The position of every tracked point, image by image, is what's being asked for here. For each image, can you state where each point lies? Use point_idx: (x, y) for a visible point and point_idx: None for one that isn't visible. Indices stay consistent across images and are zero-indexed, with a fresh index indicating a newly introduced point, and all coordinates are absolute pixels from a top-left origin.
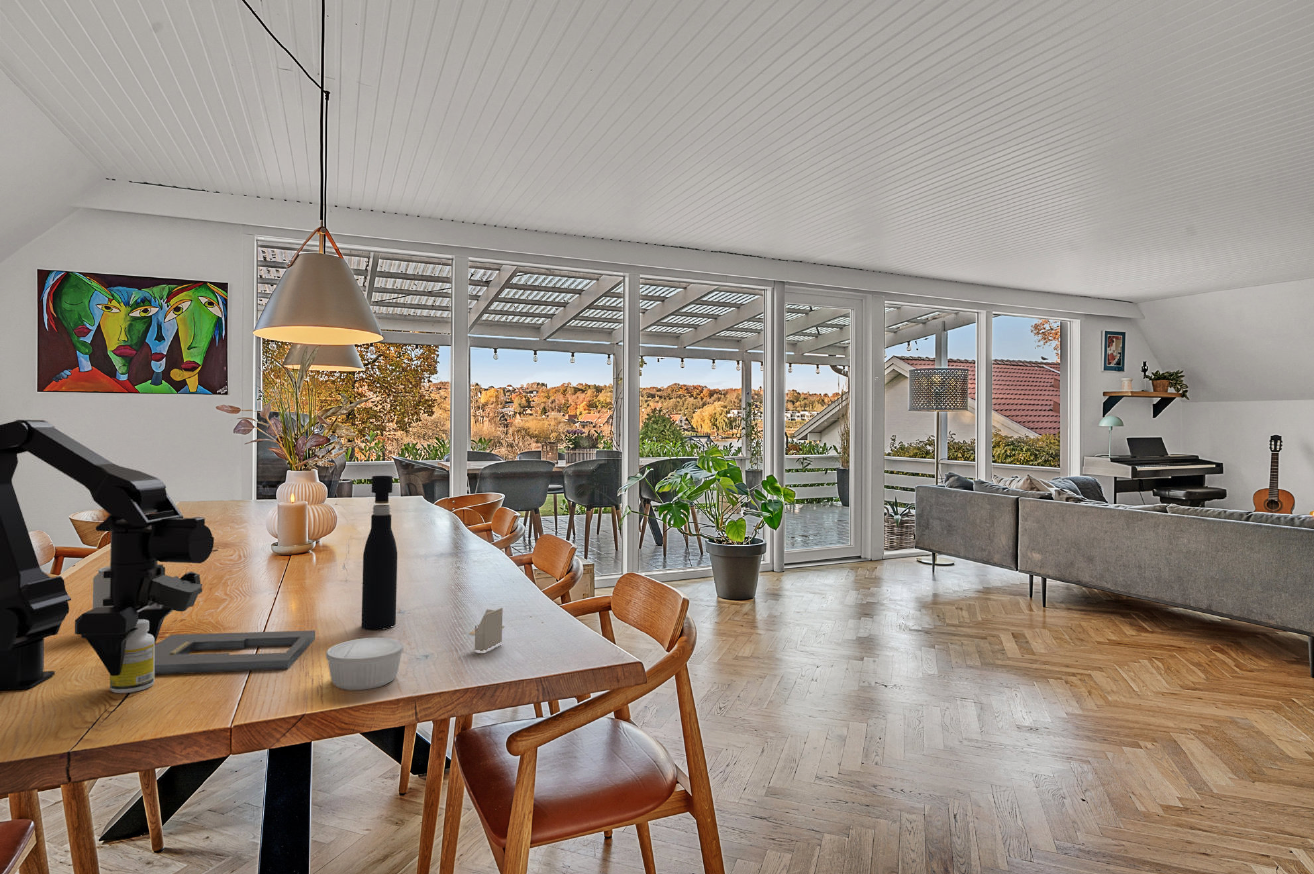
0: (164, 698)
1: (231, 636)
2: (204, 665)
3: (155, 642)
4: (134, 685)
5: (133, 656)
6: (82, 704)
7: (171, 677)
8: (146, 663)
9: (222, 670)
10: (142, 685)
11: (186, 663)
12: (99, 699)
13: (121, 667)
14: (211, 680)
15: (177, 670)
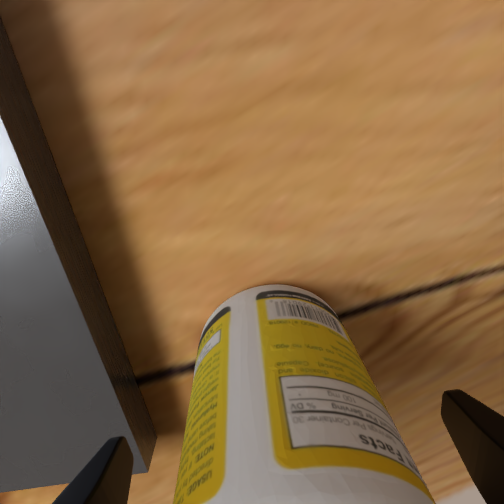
0: (418, 142)
1: None
2: (28, 163)
3: (59, 496)
4: (339, 321)
5: (405, 447)
6: (427, 387)
7: (146, 271)
8: (328, 361)
9: (9, 51)
10: (316, 300)
11: (53, 262)
12: (387, 369)
13: (483, 415)
14: (160, 39)
15: (89, 282)
